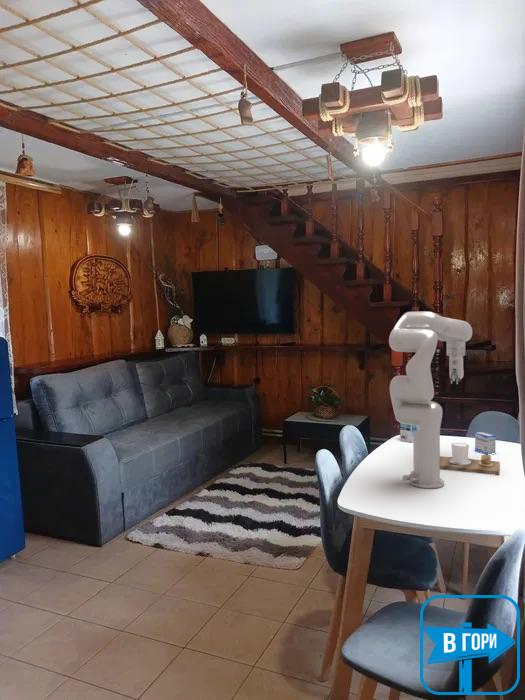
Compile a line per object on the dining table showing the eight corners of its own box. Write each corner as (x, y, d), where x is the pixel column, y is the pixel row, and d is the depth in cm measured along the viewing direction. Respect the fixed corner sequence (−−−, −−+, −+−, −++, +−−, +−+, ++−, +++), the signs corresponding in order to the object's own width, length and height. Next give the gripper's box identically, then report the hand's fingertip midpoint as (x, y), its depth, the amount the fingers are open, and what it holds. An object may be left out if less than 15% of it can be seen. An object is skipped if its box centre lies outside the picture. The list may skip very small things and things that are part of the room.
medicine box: (474, 451, 241) (474, 432, 241) (481, 449, 243) (481, 431, 242) (488, 455, 234) (488, 436, 233) (495, 453, 236) (495, 434, 235)
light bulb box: (412, 443, 258) (412, 421, 257) (399, 441, 263) (399, 419, 262) (422, 438, 266) (422, 417, 265) (409, 436, 270) (409, 416, 270)
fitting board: (435, 468, 217) (435, 456, 216) (439, 459, 229) (439, 447, 229) (498, 475, 207) (499, 461, 206) (499, 465, 219) (499, 452, 219)
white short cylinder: (450, 462, 217) (450, 445, 217) (452, 457, 224) (452, 441, 223) (467, 464, 214) (468, 447, 214) (469, 459, 220) (469, 443, 220)
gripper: (463, 353, 214) (463, 395, 215) (467, 350, 230) (466, 388, 231) (444, 353, 217) (444, 394, 219) (448, 349, 233) (448, 388, 234)
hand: (455, 391), depth 225 cm, fingers open, 9 cm apart
